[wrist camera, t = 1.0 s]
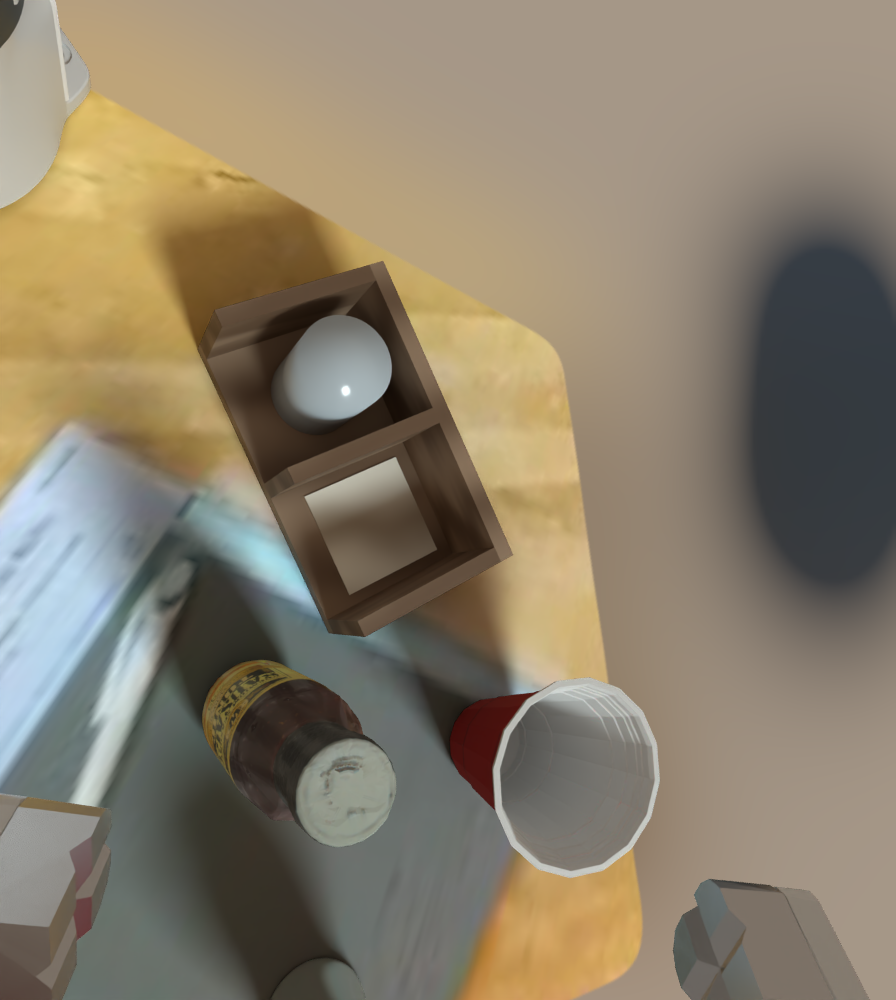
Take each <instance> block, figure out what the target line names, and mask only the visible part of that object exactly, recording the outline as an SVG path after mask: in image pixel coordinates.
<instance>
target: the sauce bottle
mask: <svg viewBox="0 0 896 1000" xmlns="http://www.w3.org/2000/svg"><path fill="white" fill-rule="evenodd" d="M202 723H203V730H204V734H205V737H206V739H207V742H208V744H209V745H210V747H211V749H212V750H213V752H214V753H215V755H216V756H217V758H218V759H219V761H220V762H221V764H222V765H223V767H224V768H225V770H226V771H227V773H228V774H229V776H230V778H231V779H232V781H233V782H234V784H235V785H236V787H237V788H238V790H239V791H240V792H241V793H242V794H243V795H244V796H245V797H246V798H248V799H249V800H250V801H251V802H252V803H253V804H255V805H256V806H257V807H258V808H259V809H260V810H262V811H263V812H264V813H265V814H266V815H267V816H268V817H269V818H270V819H272V820H293V821H295V822H296V823H297V824H298V825H299V826H300V827H301V828H302V829H303V830H304V831H305V832H306V833H307V834H308V835H309V836H310V837H312V838H313V839H314V840H316V841H317V842H319V843H320V844H324V845H327V846H331V847H346V846H351V845H354V844H356V843H359V842H362V841H364V840H366V839H367V838H368V837H369V836H371V835H373V834H374V833H375V832H376V831H377V830H378V829H379V828H380V827H381V825H382V824H383V823H384V822H385V820H386V819H387V817H388V815H389V813H390V810H391V807H392V804H393V801H394V798H395V796H396V776H395V772H394V769H393V766H392V763H391V761H390V760H389V758H388V756H387V754H386V753H385V752H384V751H383V749H382V748H381V747H380V746H379V745H378V744H376V743H375V742H374V741H373V740H372V739H370V738H368V737H367V736H365V735H363V732H362V727H361V724H360V722H359V720H358V718H357V717H356V715H355V714H354V713H353V711H352V710H351V709H350V707H349V706H348V704H347V703H346V702H345V701H344V700H342V699H341V698H340V696H339V695H337V694H336V693H334V692H332V691H331V690H330V689H328V688H327V687H326V686H324V685H322V684H320V683H318V682H316V681H314V680H312V679H310V678H308V677H306V676H304V675H302V674H300V673H298V672H296V671H294V670H292V669H290V668H288V667H286V666H284V665H282V664H280V663H277V662H273V661H268V660H255V661H248V662H242V663H239V664H237V665H235V666H234V667H232V668H231V669H229V670H227V671H226V672H225V673H224V674H223V675H222V676H221V677H219V678H218V679H217V680H216V682H215V683H214V685H213V686H212V687H211V688H210V690H209V691H208V695H207V697H206V701H205V704H204V709H203V714H202Z"/></svg>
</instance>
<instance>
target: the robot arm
mask: <svg viewBox="0 0 896 1000" xmlns="http://www.w3.org/2000/svg"><path fill="white" fill-rule="evenodd" d="M90 88H91V81H90V76H89V71H88V68H87V66H86V64H85V63H84V61H83V60H82V58H81V57H80V55H79V54H78V52H76V50H75V48H74V47H73V45H72V44H71V42H70V41H69V39H68V38H67V37H66V35H65V34H64V32H63V31H62V30H61V28H60V27H59V20H58V13H57V6H56V2H55V0H0V209H1V208H3V207H5V206H7V205H9V204H11V203H13V202H15V201H17V200H18V199H20V198H21V197H23V196H24V195H26V194H27V193H28V192H29V191H31V190H32V189H33V188H34V187H35V186H36V185H37V184H38V183H39V182H40V181H41V180H42V178H43V177H44V176H45V174H46V173H47V171H48V170H49V168H50V167H51V165H52V163H53V161H54V159H55V156H56V154H57V151H58V148H59V143H60V139H61V135H62V130H63V127H64V124H65V122H66V119H67V117H68V116H69V115H70V114H71V113H72V112H73V111H74V110H75V109H76V108H77V107H78V106H79V105H80V104H81V103H82V102H83V100H84V99H85V98H86V96H87V95H88V93H89V91H90ZM110 829H111V809H106V808H99V807H92V806H85V805H79V804H72V803H65V802H58V801H51V800H44V799H37V798H31V797H24V796H16V795H8V794H0V1000H62V999H63V996H64V994H65V992H66V989H67V987H68V984H69V982H70V980H71V977H72V975H73V972H74V970H75V968H76V965H77V940H78V939H79V938H81V937H82V936H83V935H84V934H86V933H87V932H88V931H89V930H91V928H92V926H93V923H94V921H95V918H96V916H97V913H98V911H99V908H100V905H101V902H102V899H103V895H104V892H105V888H106V885H107V881H108V876H109V870H110V864H111V850H110V849H109V847H108V846H107V845H106V844H105V841H106V838H107V836H108V834H109V831H110ZM694 896H695V899H696V902H697V905H698V906H697V907H695V908H693V909H692V910H690V911H688V912H686V913H685V914H683V915H682V917H681V919H680V922H679V923H678V925H677V927H676V930H675V937H674V948H673V953H674V961H675V968H676V972H677V975H678V979H679V982H680V986H681V988H682V989H683V990H684V992H685V993H686V994H687V995H688V996H689V997H690V999H691V1000H870V999H869V997H868V996H867V994H866V992H865V990H864V988H863V986H862V984H861V982H860V980H859V978H858V976H857V974H856V972H855V971H854V968H853V966H852V965H851V963H850V961H849V959H848V957H847V955H846V953H845V951H844V949H843V947H842V945H841V943H840V941H839V939H838V937H837V935H836V933H835V932H834V930H833V928H832V926H831V924H830V922H829V920H828V918H827V916H826V914H825V912H824V910H823V908H822V906H821V904H820V903H819V901H818V899H817V898H816V897H815V896H814V895H813V894H812V893H811V892H810V891H806V890H800V889H791V888H782V887H772V886H770V885H764V884H754V883H744V882H734V881H725V880H715V879H708V880H706V881H704V882H702V883H701V884H700V885H699V887H698V889H697V890H696V892H695V894H694Z"/></svg>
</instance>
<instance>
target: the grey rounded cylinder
mask: <svg viewBox="0 0 896 1000" xmlns="http://www.w3.org/2000/svg"><path fill="white" fill-rule="evenodd" d="M391 373H392V364H391V358H390V354H389V351H388V348H387V346H386V344H385V342H384V341H383V339H382V338H381V336H380V335H379V334H378V333H377V332H376V331H375V330H374V329H373V328H372V327H371V326H370V325H368V324H367V323H365V322H363V321H362V320H359V319H357V318H354V317H351V316H346V315H332V316H328V317H325V318H322V319H320V320H318V321H317V322H315V323H314V324H313V325H311V326H310V327H309V329H308V330H307V331H306V332H305V333H304V335H303V336H302V337H301V338H300V340H299V341H298V342H297V343H296V345H295V346H294V347H293V349H292V350H291V351H290V352H289V354H288V355H287V356H286V357H285V359H284V360H283V361H282V362H281V364H280V365H279V366H278V368H277V369H276V371H275V373H274V375H273V378H272V382H271V397H272V401H273V404H274V407H275V409H276V411H277V413H278V414H279V415H280V417H281V418H282V419H283V420H284V421H285V422H286V423H287V424H288V425H289V426H291V427H292V428H294V429H295V430H297V431H299V432H302V433H305V434H310V435H323V434H327V433H330V432H333V431H335V430H337V429H338V428H340V427H341V426H342V425H344V424H345V423H347V422H348V421H349V420H351V419H352V418H353V417H355V416H356V415H358V414H359V413H360V412H362V411H363V410H365V409H366V408H367V407H369V406H370V405H372V404H373V403H374V402H376V401H377V400H378V399H379V398H380V397H381V396H382V395H383V394H384V392H385V391H386V389H387V387H388V385H389V382H390V379H391Z"/></svg>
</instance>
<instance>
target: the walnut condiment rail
mask: <svg viewBox="0 0 896 1000" xmlns="http://www.w3.org/2000/svg"><path fill="white" fill-rule="evenodd" d="M332 315H346V316H351V317H354V318H357V319H359V320H362V321H363V322H365V323H367V324H368V325H370V326H371V327H372V328H373V329H374V330H375V331H376V332H377V333H378V334H379V335H380V336H381V338H382V339H383V341H384V342H385V344H386V346H387V348H388V351H389V354H390V358H391V364H392V373H391V379H390V382H389V385H388V387H387V389H386V391H385V392H384V394H383V395H382V396H381V397H380V398H379V399H378V400H377V401H376V402H374V403H373V404H372V405H370V406H369V407H367V408H366V409H365V410H363V411H362V412H360V413H359V414H358V415H356V416H355V417H353V418H352V419H351V420H349V421H348V422H347V423H345V424H344V425H342V426H341V427H340V428H338V429H337V430H335V431H333V432H330V433H327V434H323V435H310V434H305V433H302V432H299V431H297V430H295V429H294V428H292V427H291V426H289V425H288V424H287V423H286V422H285V421H284V420H283V419H282V418H281V417H280V415H279V414H278V413H277V411H276V409H275V407H274V404H273V401H272V397H271V382H272V378H273V375H274V373H275V371H276V369H277V368H278V366H279V365H280V364H281V362H282V361H283V360H284V359H285V357H286V356H287V355H288V354H289V352H290V351H291V350H292V349H293V347H294V346H295V345H296V343H297V342H298V341H299V340H300V338H301V337H302V336H303V335H304V333H305V332H306V331H307V330H308V329H309V327H310V326H311V325H313V324H314V323H315V322H317V321H318V320H320V319H322V318H325V317H328V316H332ZM198 351H199V353H200V356H201V358H202V360H203V362H204V364H205V366H206V369H207V371H208V373H209V375H210V377H211V379H212V381H213V384H214V386H215V388H216V390H217V392H218V394H219V397H220V399H221V401H222V403H223V405H224V407H225V410H226V412H227V414H228V416H229V418H230V420H231V423H232V425H233V427H234V429H235V431H236V433H237V435H238V438H239V440H240V442H241V444H242V446H243V448H244V451H245V453H246V455H247V457H248V459H249V461H250V464H251V466H252V468H253V470H254V472H255V474H256V477H257V479H258V481H259V483H260V485H261V487H262V489H263V492H264V494H265V496H266V498H267V500H268V502H269V505H270V507H271V509H272V511H273V513H274V515H275V518H276V520H277V522H278V524H279V526H280V528H281V530H282V533H283V535H284V537H285V539H286V541H287V543H288V546H289V548H290V550H291V552H292V554H293V556H294V559H295V561H296V563H297V565H298V567H299V569H300V572H301V574H302V576H303V578H304V580H305V582H306V584H307V587H308V589H309V591H310V593H311V595H312V597H313V600H314V602H315V604H316V606H317V608H318V610H319V613H320V615H321V617H322V619H323V621H324V623H325V626H326V628H327V630H328V632H329V633H332V634H341V635H351V636H361V637H366V636H367V635H369V634H371V633H373V632H375V631H377V630H378V629H380V628H382V627H384V626H386V625H387V624H389V623H391V622H393V621H395V620H396V619H398V618H400V617H402V616H404V615H405V614H407V613H409V612H411V611H413V610H414V609H416V608H418V607H420V606H422V605H423V604H425V603H427V602H429V601H431V600H433V599H434V598H436V597H438V596H440V595H442V594H443V593H445V592H447V591H449V590H451V589H452V588H454V587H456V586H458V585H460V584H461V583H463V582H465V581H467V580H469V579H470V578H472V577H474V576H476V575H478V574H479V573H481V572H483V571H485V570H487V569H488V568H490V567H492V566H494V565H496V564H498V563H499V562H501V561H503V560H505V559H507V558H508V557H510V556H512V555H513V553H512V551H511V549H510V547H509V544H508V542H507V540H506V538H505V535H504V533H503V531H502V529H501V526H500V524H499V522H498V520H497V517H496V515H495V513H494V510H493V508H492V506H491V504H490V501H489V499H488V497H487V495H486V492H485V490H484V488H483V486H482V483H481V481H480V479H479V477H478V474H477V472H476V470H475V467H474V465H473V463H472V461H471V458H470V456H469V454H468V452H467V449H466V447H465V445H464V443H463V440H462V438H461V436H460V434H459V431H458V429H457V427H456V424H455V422H454V420H453V418H452V415H451V413H450V411H449V409H448V406H447V404H446V402H445V400H444V397H443V395H442V393H441V391H440V388H439V386H438V384H437V381H436V379H435V377H434V375H433V372H432V370H431V368H430V366H429V363H428V361H427V359H426V357H425V354H424V352H423V350H422V348H421V345H420V343H419V341H418V338H417V336H416V334H415V332H414V329H413V327H412V325H411V323H410V320H409V318H408V316H407V314H406V311H405V309H404V307H403V305H402V302H401V300H400V298H399V295H398V293H397V291H396V289H395V286H394V284H393V282H392V280H391V277H390V275H389V273H388V271H387V268H386V266H385V264H384V262H383V261H381V262H378V263H374V264H371V265H367V266H364V267H360V268H357V269H353V270H350V271H347V272H343V273H340V274H336V275H333V276H329V277H326V278H323V279H319V280H316V281H312V282H309V283H305V284H302V285H299V286H295V287H292V288H288V289H285V290H281V291H278V292H275V293H271V294H268V295H264V296H261V297H257V298H254V299H250V300H247V301H244V302H240V303H237V304H233V305H230V306H226V307H223V308H220V309H216V310H214V312H213V315H212V317H211V319H210V322H209V324H208V327H207V329H206V331H205V334H204V336H203V338H202V341H201V343H200V345H199V348H198Z"/></svg>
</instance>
